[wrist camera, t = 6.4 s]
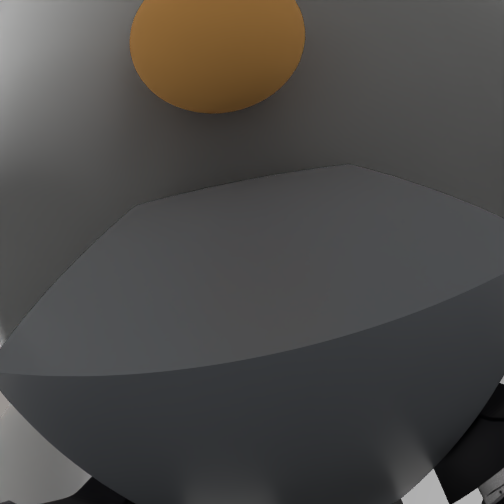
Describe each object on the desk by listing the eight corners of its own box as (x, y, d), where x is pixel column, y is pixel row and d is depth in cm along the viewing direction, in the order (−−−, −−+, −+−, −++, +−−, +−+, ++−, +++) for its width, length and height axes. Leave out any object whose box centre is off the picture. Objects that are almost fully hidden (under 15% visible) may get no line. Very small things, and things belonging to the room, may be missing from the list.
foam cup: (-4, 369, 13) (-59, 488, 1) (49, 345, 13) (-26, 529, 1) (72, 439, 17) (49, 551, 5) (143, 432, 16) (132, 584, 4)
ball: (271, 1, 8) (304, -68, 3) (294, 109, 10) (352, 89, 5) (145, 22, 7) (102, -39, 3) (162, 132, 9) (115, 129, 5)
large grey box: (349, 163, 9) (553, 244, 2) (348, 387, 14) (398, 500, 7) (135, 205, 9) (-16, 370, 2) (218, 416, 14) (226, 541, 7)
